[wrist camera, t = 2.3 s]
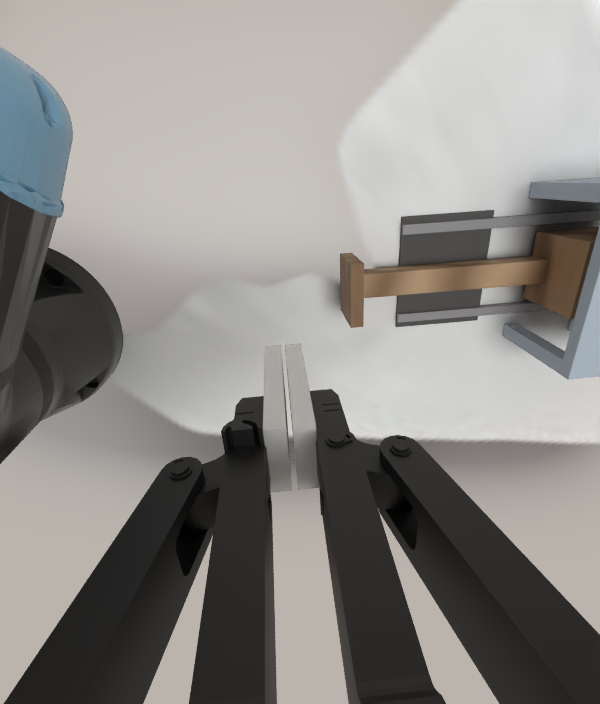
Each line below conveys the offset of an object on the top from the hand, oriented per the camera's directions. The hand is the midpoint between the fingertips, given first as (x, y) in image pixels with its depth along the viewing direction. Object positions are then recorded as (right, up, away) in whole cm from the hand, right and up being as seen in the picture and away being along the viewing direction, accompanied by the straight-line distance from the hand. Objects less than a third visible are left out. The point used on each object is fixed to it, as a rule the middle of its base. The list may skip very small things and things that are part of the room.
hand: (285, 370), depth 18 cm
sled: (+16, +8, +15) cm, 23 cm away
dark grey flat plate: (+14, +8, +15) cm, 22 cm away
